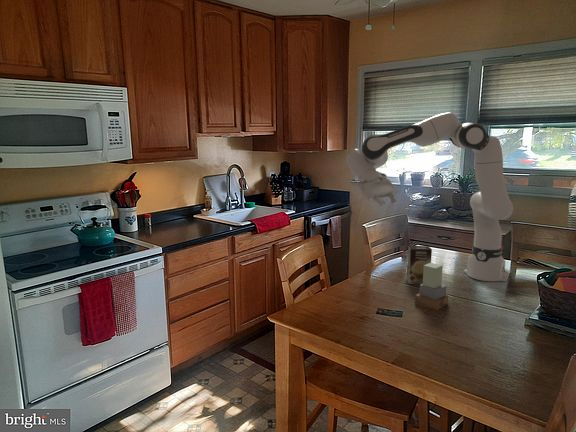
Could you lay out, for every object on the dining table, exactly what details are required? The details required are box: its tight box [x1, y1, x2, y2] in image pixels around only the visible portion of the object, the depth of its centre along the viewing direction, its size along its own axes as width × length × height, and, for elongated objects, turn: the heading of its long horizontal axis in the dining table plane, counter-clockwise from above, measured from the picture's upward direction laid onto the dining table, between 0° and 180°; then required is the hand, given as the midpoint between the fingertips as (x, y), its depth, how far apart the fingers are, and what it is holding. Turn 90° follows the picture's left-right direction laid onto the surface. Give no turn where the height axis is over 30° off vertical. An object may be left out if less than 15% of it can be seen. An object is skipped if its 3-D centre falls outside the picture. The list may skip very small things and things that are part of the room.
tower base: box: [414, 292, 449, 312], centre depth 159 cm, size 9×9×4 cm
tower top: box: [419, 284, 448, 300], centre depth 158 cm, size 7×7×4 cm
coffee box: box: [405, 245, 433, 285], centre depth 181 cm, size 9×6×16 cm
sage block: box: [423, 262, 443, 289], centre depth 157 cm, size 5×5×8 cm
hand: (389, 204), depth 177 cm, fingers open, 8 cm apart
